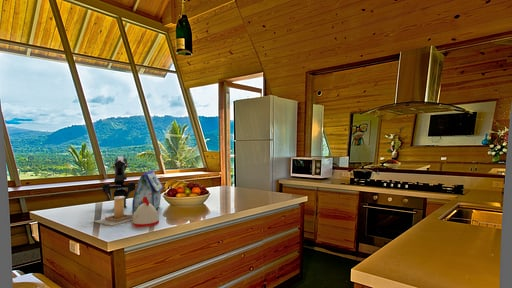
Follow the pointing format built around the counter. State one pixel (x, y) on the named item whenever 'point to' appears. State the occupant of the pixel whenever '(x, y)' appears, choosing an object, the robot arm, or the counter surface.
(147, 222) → the kitchen timer
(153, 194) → the lunch bag
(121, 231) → the counter surface
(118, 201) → the beige cylinder
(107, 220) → the socket board
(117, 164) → the robot arm
